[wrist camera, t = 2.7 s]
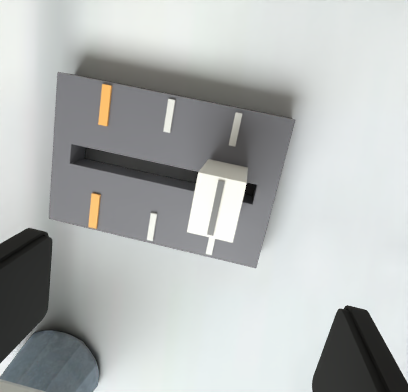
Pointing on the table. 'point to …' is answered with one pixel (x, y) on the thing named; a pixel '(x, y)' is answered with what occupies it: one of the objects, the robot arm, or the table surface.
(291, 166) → the table surface
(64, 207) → the fader console
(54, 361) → the moka pot
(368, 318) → the robot arm
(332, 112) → the table surface
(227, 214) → the fader knob
